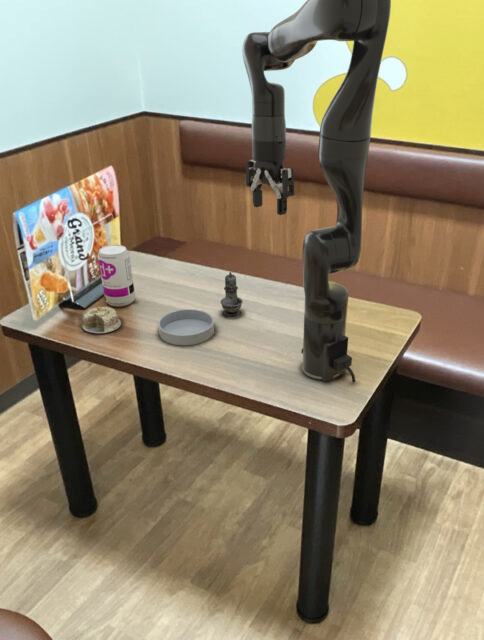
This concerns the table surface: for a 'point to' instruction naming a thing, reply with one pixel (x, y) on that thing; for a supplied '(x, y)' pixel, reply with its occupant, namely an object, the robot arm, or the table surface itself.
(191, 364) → the table surface
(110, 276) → the supplement can
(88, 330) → the cake
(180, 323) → the tin
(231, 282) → the dark grey chess piece
